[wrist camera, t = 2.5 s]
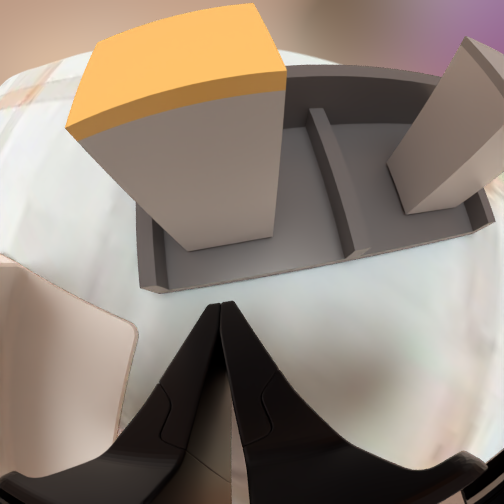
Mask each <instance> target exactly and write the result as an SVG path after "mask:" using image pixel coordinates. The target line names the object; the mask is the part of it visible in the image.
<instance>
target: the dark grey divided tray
mask: <svg viewBox="0 0 504 504" xmlns="http://www.w3.org/2000/svg"><path fill="white" fill-rule="evenodd" d="M285 67H286V69H287V78H286V92H285V105H284V118H283V130H282V142H281V154H280V165H279V176H278V187H277V198H276V208H275V218H274V228H273V237H267V238H262V239H256V240H250V241H244V242H239V243H233V244H227V245H222V246H216V247H210V248H205V249H199V250H194V251H187V250H185V249H184V248H183V247H182V246H181V245H180V244H179V243H178V242H177V241H176V240H175V239H174V238H173V237H172V236H171V235H170V234H168V233H167V232H166V231H165V230H164V229H163V228H162V227H161V226H160V225H159V224H158V223H157V222H156V221H155V220H154V219H153V218H152V217H151V216H150V215H149V214H148V213H147V212H146V211H145V210H144V209H143V208H142V207H141V206H140V205H138V204H137V203H136V236H137V256H138V271H139V283H140V288H141V289H145V290H148V291H152V292H155V293H159V294H161V293H168V292H174V291H181V290H187V289H194V288H200V287H206V286H212V285H219V284H225V283H231V282H237V281H242V280H248V279H254V278H260V277H265V276H271V275H277V274H282V273H288V272H293V271H298V270H304V269H309V268H314V267H320V266H325V265H330V264H335V263H340V262H345V261H350V260H355V259H360V258H365V257H370V256H375V255H380V254H384V253H389V252H394V251H398V250H403V249H408V248H412V247H417V246H421V245H426V244H430V243H435V242H439V241H443V240H448V239H452V238H456V237H460V236H465V235H469V234H473V233H475V232H477V231H479V230H481V229H483V228H484V227H486V226H488V225H490V224H492V223H494V222H496V221H495V218H494V215H493V212H492V209H491V206H490V203H489V201H488V198H487V195H486V193H485V190H484V188H482V189H480V190H479V191H478V192H476V193H475V194H473V195H472V196H471V197H469V198H468V199H467V200H465V201H464V202H462V203H461V204H459V205H458V206H457V207H454V208H447V209H441V210H434V211H427V212H421V213H414V214H408V215H406V214H405V211H404V208H403V205H402V202H401V199H400V196H399V193H398V191H397V188H396V185H395V183H394V180H393V177H392V175H391V172H390V170H389V167H388V165H387V161H388V159H389V158H390V157H391V155H392V154H393V152H394V151H395V149H396V148H397V146H398V145H399V143H400V142H401V141H402V139H403V138H404V136H405V135H406V133H407V132H408V130H409V129H410V127H411V126H412V124H413V122H414V121H415V119H416V118H417V116H418V115H419V113H420V112H421V110H422V109H423V107H424V105H425V104H426V102H427V101H428V99H429V97H430V96H431V94H432V93H433V91H434V89H435V88H436V86H437V84H438V83H439V81H440V79H441V78H442V77H439V76H434V75H429V74H424V73H418V72H412V71H404V70H398V69H389V68H381V67H369V66H355V65H354V66H353V65H293V66H285Z"/></svg>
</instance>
